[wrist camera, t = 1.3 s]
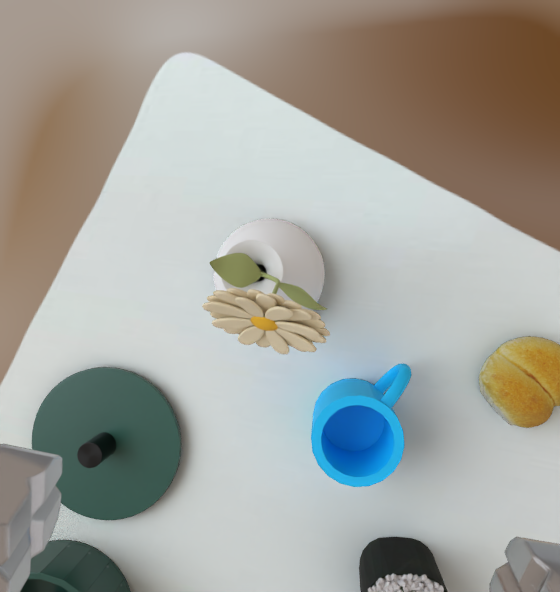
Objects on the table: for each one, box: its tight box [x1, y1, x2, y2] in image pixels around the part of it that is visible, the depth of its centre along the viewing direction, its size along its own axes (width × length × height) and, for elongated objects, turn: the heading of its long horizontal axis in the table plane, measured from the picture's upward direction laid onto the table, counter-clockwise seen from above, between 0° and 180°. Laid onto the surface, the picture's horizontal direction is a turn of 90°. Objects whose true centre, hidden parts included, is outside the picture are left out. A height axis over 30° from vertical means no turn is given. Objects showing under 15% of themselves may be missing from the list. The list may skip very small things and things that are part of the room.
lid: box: [32, 367, 181, 520], centre depth 53 cm, size 16×16×5 cm
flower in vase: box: [202, 219, 330, 354], centre depth 41 cm, size 13×11×25 cm
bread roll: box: [479, 336, 560, 428], centre depth 49 cm, size 8×9×4 cm
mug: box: [311, 364, 411, 487], centre depth 48 cm, size 12×8×8 cm
